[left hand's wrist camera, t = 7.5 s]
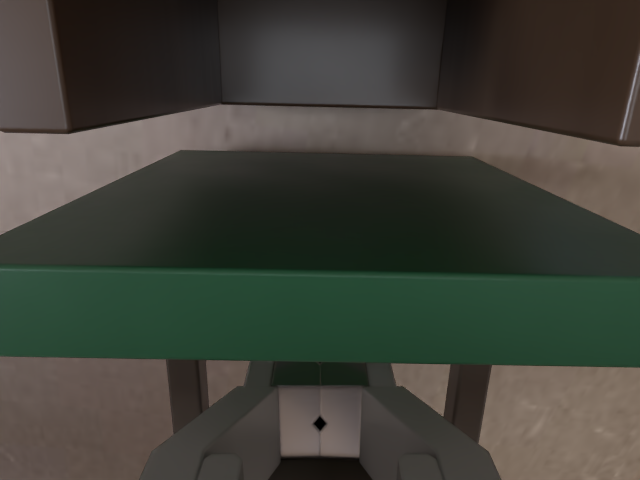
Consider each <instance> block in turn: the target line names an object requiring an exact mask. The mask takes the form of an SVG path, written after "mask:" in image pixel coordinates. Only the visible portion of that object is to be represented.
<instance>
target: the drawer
mask: <svg viewBox="0 0 640 480" xmlns="http://www.w3.org/2000/svg"><path fill="white" fill-rule="evenodd" d="M220 104H222V105H265V106H307V107H350V108H393V109H435V110H443V111H448V112H453V113H458V114H463V115H468V116H473V117H478V118H482V119H487V120H492V121H497V122H502V123H507V124H512V125H517V126H522V127H527V128H532V129H537V130H542V131H547V132H552V133H557V134H562V135H567V136H572V137H577V138H582V139H587V140H592V141H597V142H602V143H607V144H612V145H617V146H630V147H640V0H0V131H2V132H5V133H47V134H71V133H76V132H81V131H87V130H92V129H97V128H102V127H107V126H112V125H117V124H123V123H128V122H133V121H138V120H143V119H148V118H154V117H159V116H164V115H169V114H174V113H179V112H184V111H190V110H195V109H200V108H205V107H210V106H215V105H220ZM0 356H6V357H64V358H121V359H166V363H167V373H168V383H169V392H170V402H171V412H172V422H173V432H174V434H175V433H177V432H178V431H179V430H180V429H182V428H183V427H184V426H186V425H187V424H188V423H190V422H191V421H192V420H194V419H195V418H196V417H198V416H199V415H200V414H202V413H203V412H204V411H205V410H207V409H208V408H209V400H208V385H207V371H206V360H236V361H294V362H351V363H409V364H451V365H450V373H449V380H448V388H447V395H446V402H445V410H444V418H445V419H446V420H448V421H449V422H450V423H452V424H453V425H454V426H456V427H457V428H458V429H459V430H461V431H462V432H463V433H465V434H466V435H467V436H469V437H470V438H471V439H473V440H474V441H475V442H476V443H479V437H480V431H481V425H482V420H483V414H484V408H485V402H486V396H487V390H488V384H489V378H490V373H491V367H492V365H524V366H582V367H639V368H640V234H638V233H636V232H634V231H632V230H630V229H627V228H625V227H623V226H621V225H619V224H617V223H614V222H612V221H610V220H608V219H606V218H604V217H601V216H599V215H597V214H595V213H593V212H591V211H588V210H586V209H584V208H582V207H580V206H578V205H576V204H573V203H571V202H569V201H567V200H565V199H563V198H560V197H558V196H556V195H554V194H552V193H550V192H547V191H545V190H543V189H541V188H539V187H537V186H534V185H532V184H530V183H528V182H526V181H524V180H521V179H519V178H517V177H515V176H513V175H511V174H509V173H506V172H504V171H502V170H500V169H498V168H496V167H493V166H491V165H489V164H487V163H485V162H483V161H480V160H478V159H476V158H474V157H464V156H419V155H375V154H330V153H285V152H240V151H196V150H180V151H178V152H176V153H174V154H172V155H170V156H167V157H165V158H163V159H161V160H159V161H157V162H155V163H153V164H150V165H148V166H146V167H144V168H142V169H140V170H138V171H136V172H133V173H131V174H129V175H127V176H125V177H123V178H121V179H119V180H116V181H114V182H112V183H110V184H108V185H106V186H104V187H102V188H99V189H97V190H95V191H93V192H91V193H89V194H87V195H85V196H82V197H80V198H78V199H76V200H74V201H72V202H70V203H68V204H65V205H63V206H61V207H59V208H57V209H55V210H53V211H51V212H49V213H46V214H44V215H42V216H40V217H38V218H36V219H34V220H32V221H29V222H27V223H25V224H23V225H21V226H19V227H17V228H15V229H12V230H10V231H8V232H6V233H4V234H2V235H0ZM268 480H372V478H371V477H370V476H369V474H368V473H367V472H366V470H365V469H364V468H363V466H362V465H361V464H360V462H359V460H338V459H302V460H281V463H280V464H279V466H278V467H277V468H276V469H275V471H274V472H273V473H272V475H271V476H270V477H269V479H268Z"/></svg>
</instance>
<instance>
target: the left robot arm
mask: <svg viewBox="0 0 640 480" xmlns="http://www.w3.org/2000/svg"><path fill="white" fill-rule="evenodd" d="M302 459H338V460H359V462H360V464H361V465H362V466H363V468H364V469H365V470H366V472H367V473H368V474H369V476H370V477H371V478H372V480H501V478H500V476H499V474H498V471H497V469H496V467H495V465H494V462H493V460H492V458H491V456H490V453H489V452H488V451H487V450H486V449H484V448H483V447H482V446H480V445H479V444H478V443H476V442H475V441H474V440H473V439H471V438H470V437H469V436H467V435H466V434H465V433H463V432H462V431H461V430H459V429H458V428H457V427H456V426H454V425H453V424H452V423H450V422H449V421H448V420H446V419H445V418H444V417H442V416H441V415H440V414H438V413H437V412H436V411H435V410H433V409H432V408H431V407H429V406H428V405H427V404H425V403H424V402H423V401H421V400H420V399H419V398H418V397H416V396H415V395H414V394H412V393H411V392H410V391H408V390H407V389H406V388H404V387H403V386H396V382H395V378H394V374H393V370H392V366H391V363H351V362H294V361H250V362H249V366H248V371H247V375H246V379H245V383H244V386H237V387H236V388H234V389H233V390H232V391H230V392H229V393H228V394H227V395H225V396H224V397H223V398H221V399H220V400H219V401H217V402H216V403H215V404H213V405H212V406H211V407H209V408H208V409H207V410H205V411H204V412H203V413H202V414H200V415H199V416H198V417H196V418H195V419H194V420H192V421H191V422H190V423H188V424H187V425H186V426H184V427H183V428H182V429H180V430H179V431H178V432H177V433H175V434H174V435H173V436H171V437H170V438H169V439H167V440H166V441H165V442H163V443H162V444H161V445H159V446H158V447H157V448H155V449H154V450H153V451H152V452H151V454H150V456H149V459H148V461H147V463H146V465H145V467H144V470H143V472H142V474H141V476H140V478H139V480H268V479H269V477H270V476H271V475H272V473H273V472H274V471H275V469H276V468H277V467H278V466H279V464H280V463H281V460H302Z"/></svg>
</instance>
